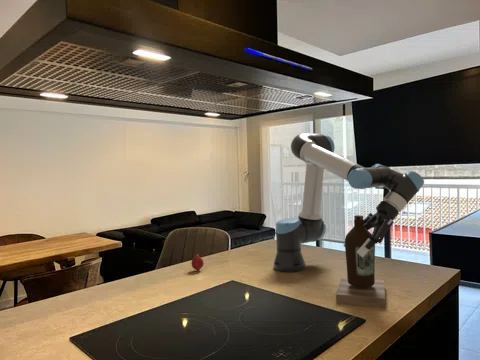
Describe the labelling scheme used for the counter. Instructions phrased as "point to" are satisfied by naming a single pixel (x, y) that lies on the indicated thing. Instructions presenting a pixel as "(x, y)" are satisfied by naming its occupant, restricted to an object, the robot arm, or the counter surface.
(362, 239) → the olive oil
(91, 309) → the counter surface
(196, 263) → the onion
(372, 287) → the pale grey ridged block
